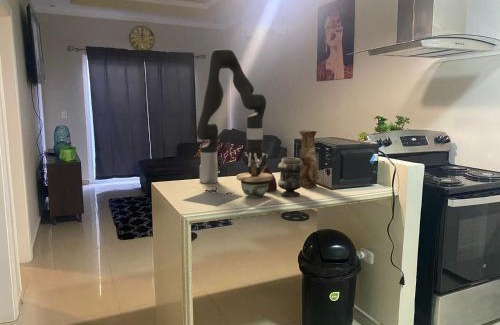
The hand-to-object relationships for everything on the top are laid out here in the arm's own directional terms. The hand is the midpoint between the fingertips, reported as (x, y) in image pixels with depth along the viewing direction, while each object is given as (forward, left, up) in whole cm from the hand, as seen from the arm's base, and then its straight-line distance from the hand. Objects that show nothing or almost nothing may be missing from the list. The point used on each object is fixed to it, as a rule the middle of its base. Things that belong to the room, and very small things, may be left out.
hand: (254, 174), depth 180 cm
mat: (-15, -13, -11) cm, 23 cm away
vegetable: (-3, +17, -11) cm, 21 cm away
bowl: (0, 0, -11) cm, 11 cm away
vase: (+12, +35, -11) cm, 39 cm away
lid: (0, 0, -2) cm, 2 cm away
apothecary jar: (+12, +13, -11) cm, 21 cm away
